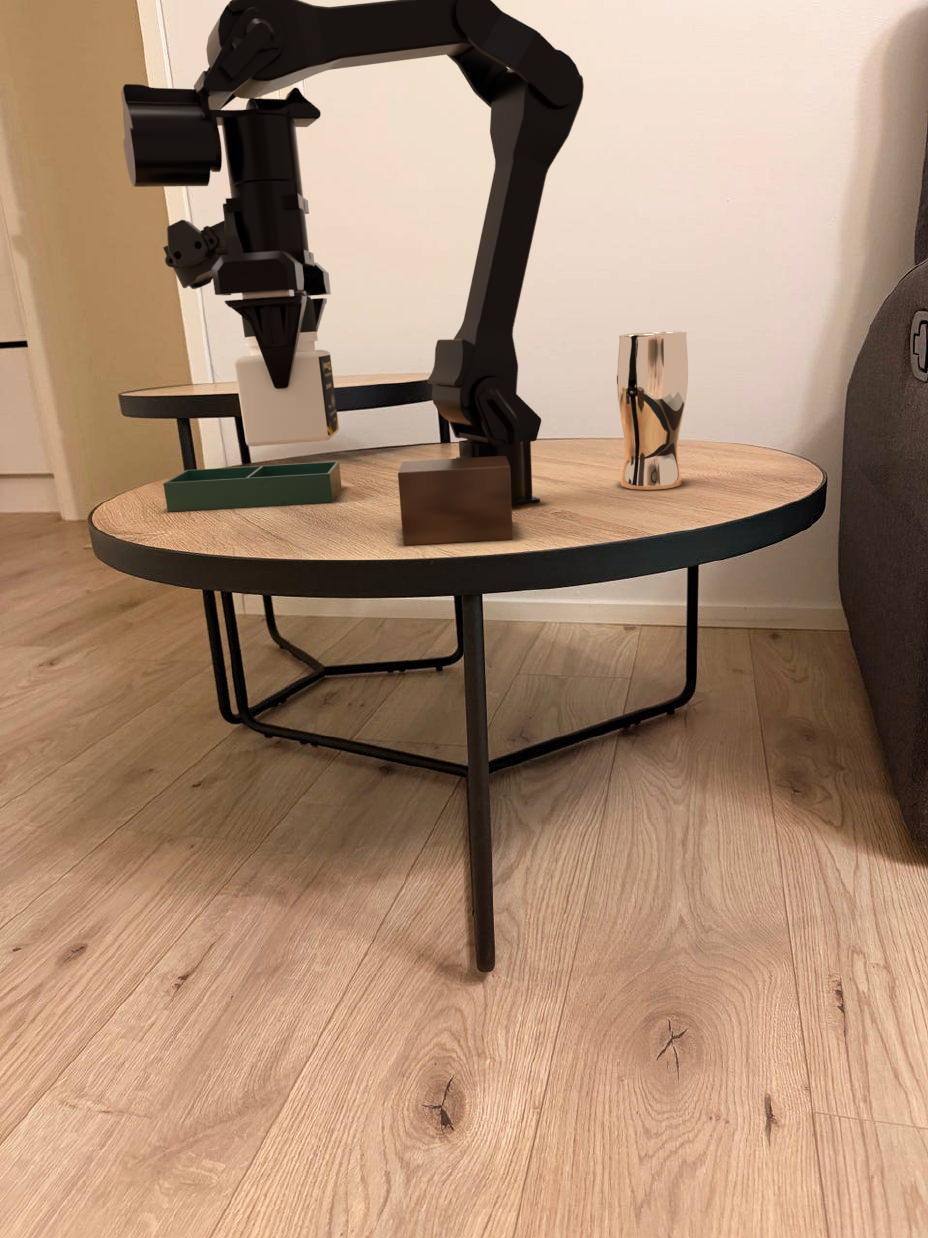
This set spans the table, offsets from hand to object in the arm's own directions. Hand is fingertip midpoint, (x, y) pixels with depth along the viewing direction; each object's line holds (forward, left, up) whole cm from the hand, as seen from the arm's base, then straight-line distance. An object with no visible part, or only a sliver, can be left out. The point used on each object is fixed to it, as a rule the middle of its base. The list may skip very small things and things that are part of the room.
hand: (289, 385), depth 79 cm
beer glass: (-36, 0, -13) cm, 38 cm away
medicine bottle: (0, 0, -5) cm, 5 cm away
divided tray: (+1, -19, -13) cm, 23 cm away
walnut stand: (-11, +10, -13) cm, 19 cm away
